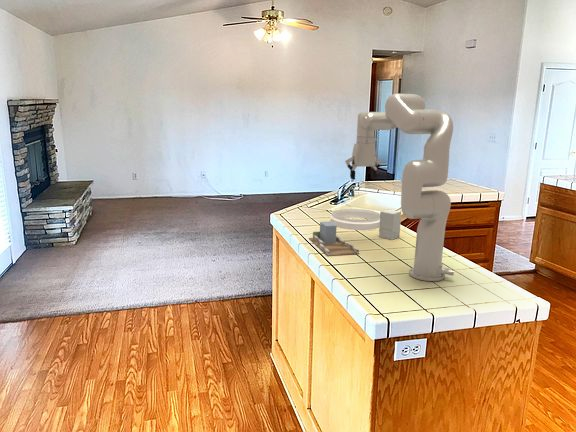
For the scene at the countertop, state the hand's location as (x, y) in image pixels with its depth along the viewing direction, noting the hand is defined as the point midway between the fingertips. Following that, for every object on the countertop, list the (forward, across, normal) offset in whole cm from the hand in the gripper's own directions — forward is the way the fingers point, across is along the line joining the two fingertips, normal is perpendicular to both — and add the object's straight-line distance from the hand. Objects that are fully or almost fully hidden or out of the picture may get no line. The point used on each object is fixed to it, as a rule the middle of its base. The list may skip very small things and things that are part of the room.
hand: (362, 179), depth 205 cm
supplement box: (+29, -16, -1) cm, 33 cm away
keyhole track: (+28, +16, +8) cm, 33 cm away
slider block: (+28, +16, +1) cm, 32 cm away
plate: (+29, -10, -29) cm, 42 cm away
